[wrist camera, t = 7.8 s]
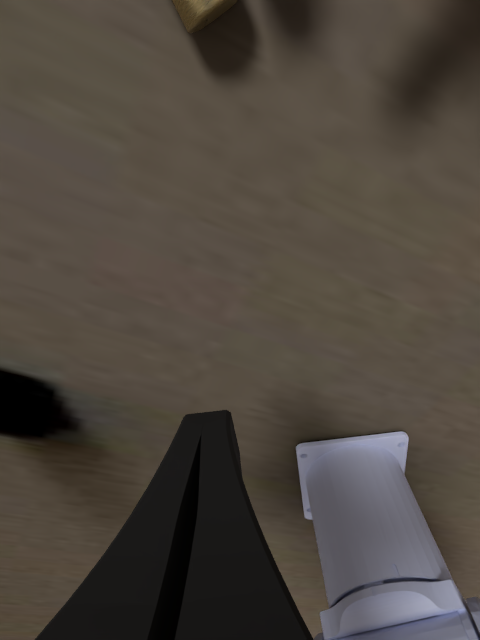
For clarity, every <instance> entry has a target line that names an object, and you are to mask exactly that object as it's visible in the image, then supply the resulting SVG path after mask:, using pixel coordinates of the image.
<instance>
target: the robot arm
mask: <svg viewBox="0 0 480 640" xmlns="http://www.w3.org/2000/svg"><path fill="white" fill-rule="evenodd" d="M408 441H409V437H408V435H407V434H406V433H405V432H402V431H400V432H391V433H383V434H375V435H366V436H358V437H349V438H341V439H332V440H324V441H316V442H307V443H301V444H298V445H297V446H296V454H297V462H298V470H299V478H300V485H301V493H302V501H303V509H304V516H305V518H306V519H309V520H311V519H313V524H314V530H315V535H316V540H317V546H318V551H319V556H320V562H321V567H322V572H323V578H324V583H325V588H326V594H327V599H328V604H329V609H327V610H324V611H321V612H320V618H321V624H322V630H323V633H319V634H317V636H316V637H315V638H314V640H480V599H479V598H478V597H472V598H467V599H466V601H467V602H466V601H465V599H464V598H463V596H462V595H461V593H460V591H459V590H458V588H457V587H456V585H455V583H454V581H453V579H452V577H451V574H450V572H449V570H448V568H447V566H446V564H445V562H444V559H443V557H442V555H441V553H440V551H439V549H438V546H437V544H436V542H435V540H434V538H433V536H432V533H431V531H430V529H429V527H428V525H427V523H426V520H425V518H424V516H423V514H422V512H421V510H420V508H419V505H418V503H417V501H416V499H415V497H414V495H413V492H412V490H411V488H410V486H409V484H408V482H407V479H406V477H405V475H404V473H405V465H406V457H407V449H408ZM35 640H313V638H312V636H311V634H310V632H309V630H308V628H307V626H306V624H305V622H304V620H303V618H302V616H301V615H300V613H299V611H298V609H297V606H296V604H295V602H294V600H293V598H292V596H291V594H290V592H289V590H288V588H287V586H286V584H285V582H284V580H283V578H282V575H281V573H280V571H279V569H278V567H277V565H276V563H275V560H274V558H273V556H272V554H271V551H270V549H269V547H268V545H267V542H266V540H265V538H264V535H263V533H262V530H261V528H260V526H259V523H258V521H257V518H256V516H255V513H254V510H253V508H252V505H251V502H250V499H249V497H248V494H247V491H246V488H245V485H244V482H243V479H242V472H241V463H240V452H239V447H238V443H237V438H236V434H235V430H234V425H233V421H232V416H231V412H229V411H227V410H222V411H213V412H204V413H196V414H187V415H185V417H184V418H183V420H182V422H181V424H180V426H179V429H178V431H177V433H176V435H175V437H174V439H173V441H172V443H171V445H170V447H169V449H168V451H167V453H166V455H165V457H164V459H163V460H162V462H161V464H160V466H159V468H158V470H157V471H156V473H155V475H154V477H153V479H152V480H151V482H150V484H149V486H148V487H147V489H146V491H145V492H144V494H143V496H142V497H141V499H140V500H139V502H138V504H137V505H136V507H135V509H134V510H133V512H132V514H131V515H130V517H129V518H128V520H127V521H126V523H125V524H124V526H123V527H122V529H121V530H120V532H119V533H118V535H117V536H116V538H115V539H114V540H113V542H112V543H111V545H110V546H109V547H108V549H107V550H106V552H105V553H104V554H103V556H102V557H101V559H100V560H99V561H98V563H97V564H96V565H95V566H94V568H93V569H92V570H91V572H90V573H89V574H88V576H87V577H86V578H85V580H84V581H83V582H82V584H81V585H80V586H79V587H78V589H77V590H76V591H75V592H74V594H73V595H72V596H71V597H70V599H69V600H68V601H67V602H66V604H65V605H64V606H63V607H62V608H61V610H60V611H59V612H58V613H57V614H56V615H55V617H54V618H53V619H52V620H51V621H50V622H49V624H48V625H47V626H46V627H45V628H44V629H43V631H42V632H41V633H40V634H39V635H38V636H37V638H36V639H35Z"/></svg>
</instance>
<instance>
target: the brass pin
mask: <svg viewBox="0 0 480 640" xmlns="http://www.w3.org/2000/svg"><path fill="white" fill-rule="evenodd" d="M172 1H173V3H174V5H175V7H176V9H177V11H178V13H179V15H180V17H181V19H182V21H183V23H184V25H185V27H186V29H187V31H188V33H194V32H196V31H199V30H201V29H203V28H204V27H206V26H207V25H208V24H210V23H211V22H212V21H214V20H215V19H216V18H218V17H219V16H220V15H222V14H223V13H224V12H226V11H227V10H228V9H230V8H231V7H232V6H233V5H234V4H235V3H236V2H237V1H238V0H172Z"/></svg>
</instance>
